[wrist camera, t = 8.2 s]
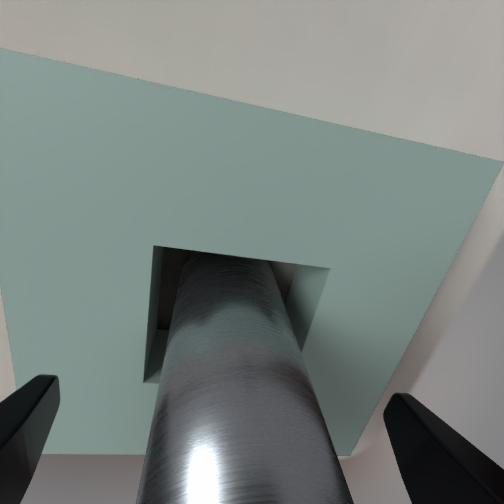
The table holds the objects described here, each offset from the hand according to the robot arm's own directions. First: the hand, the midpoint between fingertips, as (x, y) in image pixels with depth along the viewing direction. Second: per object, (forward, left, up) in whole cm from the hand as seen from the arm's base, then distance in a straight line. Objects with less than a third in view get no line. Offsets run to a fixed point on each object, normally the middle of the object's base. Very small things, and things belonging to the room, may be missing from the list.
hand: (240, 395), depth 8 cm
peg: (0, 0, -6) cm, 6 cm away
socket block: (0, 0, -6) cm, 6 cm away
